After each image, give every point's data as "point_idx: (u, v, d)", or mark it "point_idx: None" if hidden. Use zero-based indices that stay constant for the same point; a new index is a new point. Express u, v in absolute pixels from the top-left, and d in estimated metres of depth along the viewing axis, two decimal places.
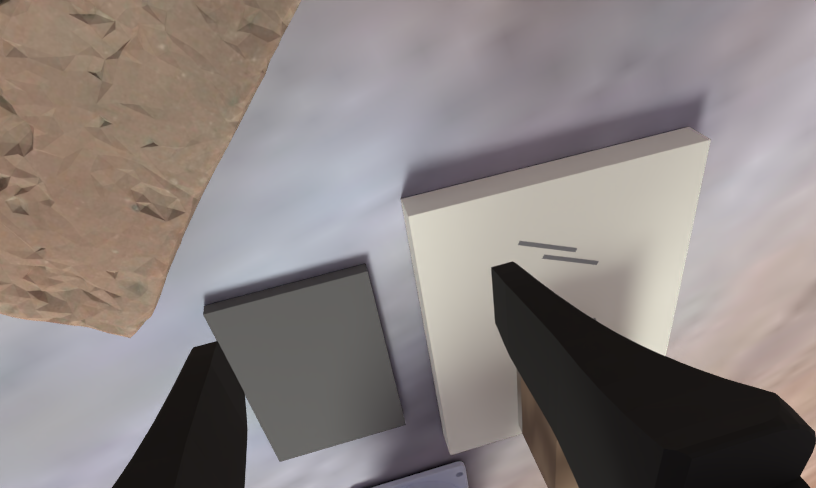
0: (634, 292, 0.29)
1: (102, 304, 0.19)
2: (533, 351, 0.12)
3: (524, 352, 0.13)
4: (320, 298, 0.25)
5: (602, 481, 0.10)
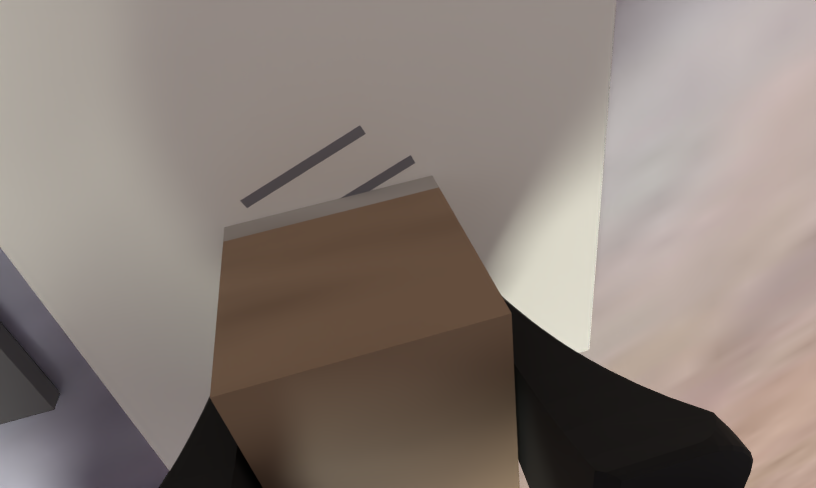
0: (497, 90, 0.12)
1: None
2: None
3: None
4: None
5: None
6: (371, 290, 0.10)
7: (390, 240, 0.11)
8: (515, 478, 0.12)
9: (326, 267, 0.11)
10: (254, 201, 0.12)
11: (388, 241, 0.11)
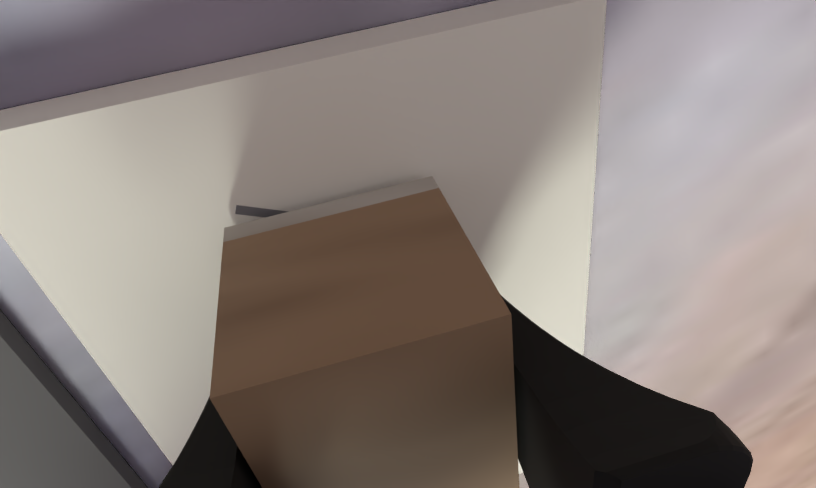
0: None
1: None
2: None
3: None
4: None
5: None
6: (371, 290, 0.10)
7: (390, 240, 0.11)
8: (515, 478, 0.12)
9: (326, 267, 0.11)
10: None
11: (388, 242, 0.11)
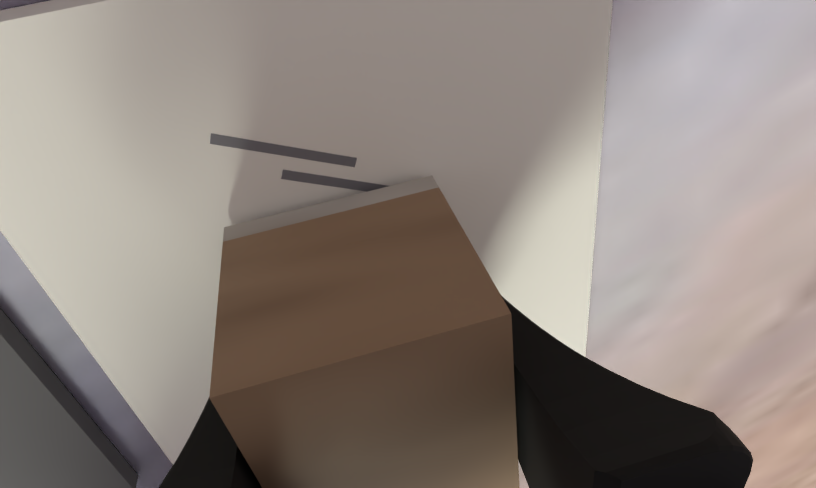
0: (503, 258, 0.15)
1: None
2: None
3: None
4: None
5: None
6: (371, 290, 0.10)
7: (390, 240, 0.11)
8: (515, 478, 0.12)
9: (325, 267, 0.11)
10: None
11: (388, 241, 0.11)
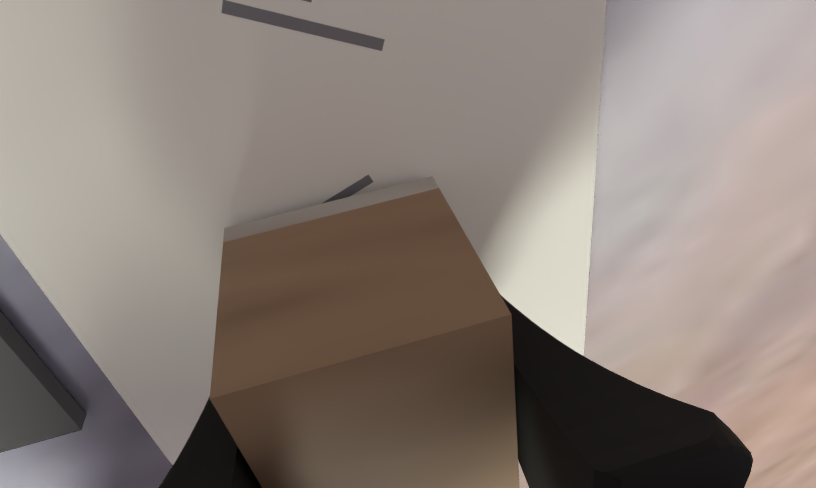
0: (494, 141, 0.13)
1: None
2: None
3: None
4: None
5: None
6: (371, 291, 0.10)
7: (390, 240, 0.11)
8: (515, 479, 0.12)
9: (325, 268, 0.11)
10: None
11: (388, 242, 0.11)
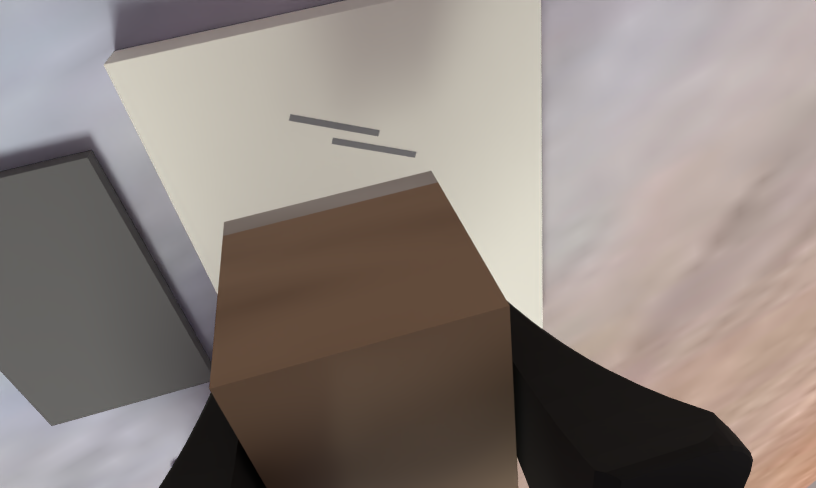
0: (478, 201, 0.22)
1: None
2: None
3: None
4: (28, 196, 0.19)
5: None
6: (371, 283, 0.10)
7: (390, 233, 0.11)
8: (514, 472, 0.12)
9: (325, 260, 0.11)
10: None
11: (387, 235, 0.11)
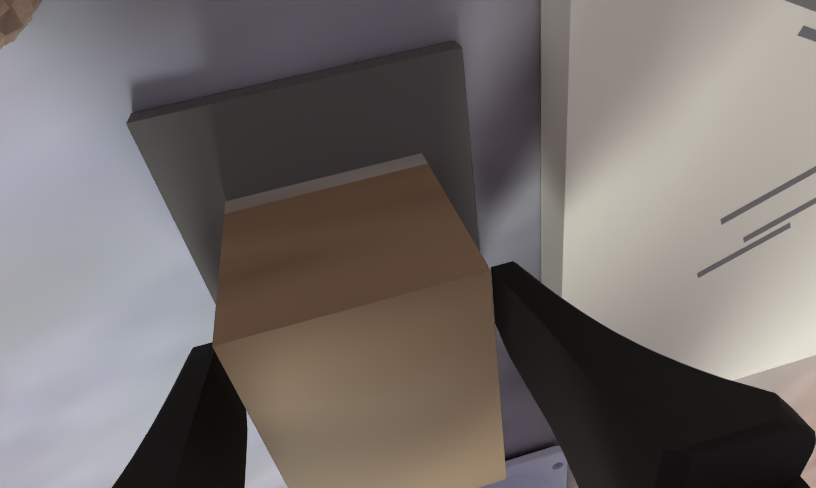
0: None
1: None
2: (533, 351, 0.12)
3: (524, 352, 0.13)
4: (366, 106, 0.13)
5: (602, 481, 0.10)
6: (362, 253, 0.11)
7: (381, 209, 0.12)
8: (499, 436, 0.13)
9: (320, 234, 0.11)
10: (728, 220, 0.16)
11: (379, 211, 0.12)
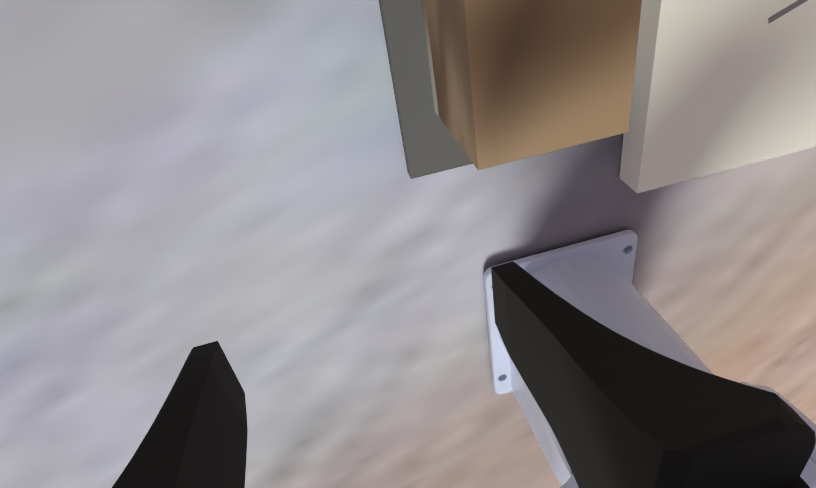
0: None
1: None
2: (533, 351, 0.12)
3: (524, 352, 0.13)
4: None
5: (602, 481, 0.10)
6: None
7: None
8: (632, 73, 0.16)
9: None
10: None
11: None
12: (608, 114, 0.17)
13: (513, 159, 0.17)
